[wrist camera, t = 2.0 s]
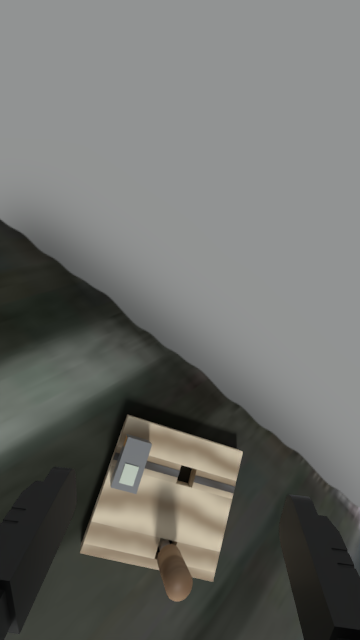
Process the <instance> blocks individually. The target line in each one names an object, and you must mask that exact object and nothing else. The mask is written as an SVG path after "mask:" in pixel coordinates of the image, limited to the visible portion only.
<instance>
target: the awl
mask: <svg viewBox="0 0 360 640" xmlns="http://www.w3.org/2000/svg"><path fill="white" fill-rule="evenodd" d="M158 547H159V550H160V552H159V554H158V557H157V563H158V567H159V570H160V573H161V577H162V580H163V583H164V586H165V590H166V593H167V595H168V597H169V598H170V599H171V600H173V601H182V600H183V599H185V598H186V597H187V596H188V595H189V593H190V591H191V589H192V583H193V582H192V576H191V574H190V572H189V570H188V567H187V565H186V563H185V561H184V559H183V557H182V555H181V552H180V550H179V548H178V547H177V546H175V545H173V544H170V543H169V540H167V539H163V538H160V541H159V545H158Z"/></svg>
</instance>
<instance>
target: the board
mask: <svg viewBox="0 0 360 640" xmlns="http://www.w3.org/2000/svg"><path fill="white" fill-rule="evenodd" d="M126 434H129V435H132V436H136V437H139V438H142V439H146V440H149V441H150V442H151V443H152V447H151V450H150V453H149V456H148V459H147V462H146V465H145V469H144V472H143V475H142V478H141V481H140V484H139V487H138V490H137V494H134V493H130V492H126V491H122V490H118V489H115V488H111V485H110V480H111V477H112V475H113V472H114V469H115V466H116V463H117V460H118V458H119V455H120V452H121V449H122V446H123V443H124V440H125V437H126ZM242 454H243V452H242V451H240V450H238V449H236V448H232V447H229V446H226V445H223V444H220V443H217V442H214V441H210V440H207V439H204V438H201V437H198V436H195V435H191V434H188V433H185V432H182V431H179V430H176V429H172V428H169V427H166V426H163V425H160V424H157V423H153V422H150V421H147V420H144V419H141V418H138V417H134V416H131V415H128V414H127V416H126V419H125V422H124V425H123V427H122V430H121V433H120V436H119V439H118V442H117V444H116V447H115V450H114V453H113V456H112V458H111V461H110V464H109V467H108V470H107V473H106V475H105V478H104V481H103V484H102V487H101V489H100V492H99V495H98V498H97V501H96V504H95V506H94V509H93V512H92V515H91V518H90V520H89V523H88V526H87V529H86V532H85V535H84V537H83V540H82V543H81V548H80V553H82V554H86V555H91V556H96V557H100V558H105V559H110V560H114V561H119V562H124V563H128V564H133V565H138V566H142V567H147V568H152V569H156V570H159V567H158V563H157V557H158V554H159V552H157V548H158V545H159V541H160V538H163V539H167V540H172V543H171V544H173V545H175V546H177V547H178V548H179V550H180V552H181V555H182V557H183V559H184V561H185V563H186V565H187V567H188V570H189V572H190V574H191V576H192V577H194V578H198V579H203V580H207V581H212V582H213V579H214V575H215V571H216V566H217V562H218V558H219V553H220V549H221V545H222V540H223V536H224V532H225V527H226V523H227V519H228V514H229V510H230V506H231V501H232V497H233V494H234V490H235V484H236V480H237V475H238V471H239V467H240V462H241V458H242ZM181 465H183V466H187V467H190V468H192V470H191V474H190V478H189V481H188V483H185V482H182V481H178V480H177V478H178V476H179V472H180V468H181Z"/></svg>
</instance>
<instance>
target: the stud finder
mask: <svg viewBox="0 0 360 640" xmlns="http://www.w3.org/2000/svg"><path fill="white" fill-rule="evenodd" d="M151 447H152V443H151V442H150V441H149V440H146V439H142V438H139V437H136V436H132V435H129V434H126V437H125V440H124V443H123V446H122V449H121V452H120V455H119V458H118V460H117V463H116V466H115V469H114V472H113V475H112V477H111V480H110V485H111V488H115V489H118V490H122V491H126V492H130V493H134V494H137V490H138V487H139V484H140V481H141V478H142V475H143V472H144V469H145V465H146V462H147V459H148V456H149V453H150V450H151Z"/></svg>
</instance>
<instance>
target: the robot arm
mask: <svg viewBox="0 0 360 640" xmlns="http://www.w3.org/2000/svg"><path fill="white" fill-rule="evenodd" d="M76 502H77V493H76V475H75V470H74V469H70V468H62V467H53V468H52V469H51V471H50V472H49V474H48V476H47V477H46V479H45V480H44V482H42V481H35V482H34V483H33V484H31V485H30V486H29V487H28V488H27V489H25V490H24V491H23V492H22V493H21V495H20V496H19V498H18V499H17V500H16V502H15V503H14V505H13V506H12V509H11V510H10V511H9V512H8V514H7V515H6V516H5V518H4V519H3V522H2V523H1V524H0V640H4V638H5V636H6V634H7V632H9V633H15V634H20V632H21V630H22V627H23V625H24V623H25V621H26V618H27V616H28V614H29V612H30V610H31V607H32V605H33V603H34V601H35V599H36V596H37V594H38V592H39V590H40V588H41V585H42V583H43V581H44V579H45V577H46V574H47V572H48V570H49V568H50V565H51V563H52V561H53V559H54V557H55V554H56V552H57V550H58V548H59V546H60V543H61V541H62V539H63V537H64V535H65V532H66V530H67V528H68V526H69V524H70V521H71V519H72V517H73V514H74V511H75V507H76ZM279 537H280V543H281V548H282V552H283V556H284V560H285V564H286V568H287V572H288V576H289V580H290V584H291V588H292V592H293V596H294V600H295V604H296V608H297V613H298V617H299V621H300V625H301V629H302V633H303V637H304V640H360V577H359V575H358V573H357V570H356V569H355V568H354V564H353V562H352V559H351V557H350V555H349V554H348V552H347V548H346V546H345V544H344V542H343V539H342V537H341V535H340V533H339V531H338V530H337V529H336V527H335V526H334V525H333V524H332V523H331V521H330V520H329V519H328V518H327V516H320V515H318V514H317V512H316V509H315V507H314V504H313V502H312V500H311V498H310V497H305V496H297V495H289V494H288V495H287V496H286V500H285V504H284V508H283V512H282V516H281V519H280V524H279Z"/></svg>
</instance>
